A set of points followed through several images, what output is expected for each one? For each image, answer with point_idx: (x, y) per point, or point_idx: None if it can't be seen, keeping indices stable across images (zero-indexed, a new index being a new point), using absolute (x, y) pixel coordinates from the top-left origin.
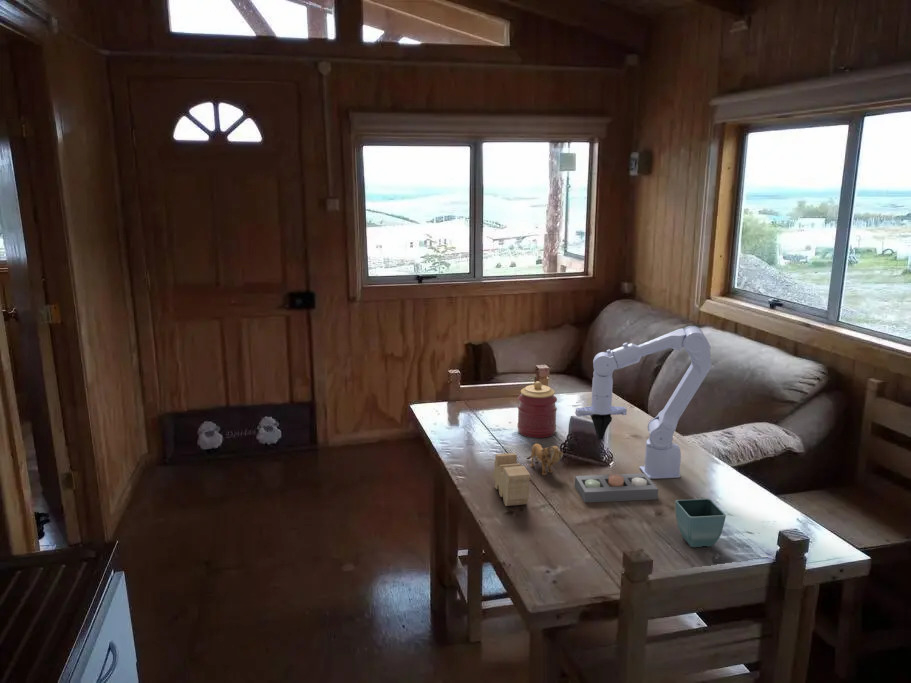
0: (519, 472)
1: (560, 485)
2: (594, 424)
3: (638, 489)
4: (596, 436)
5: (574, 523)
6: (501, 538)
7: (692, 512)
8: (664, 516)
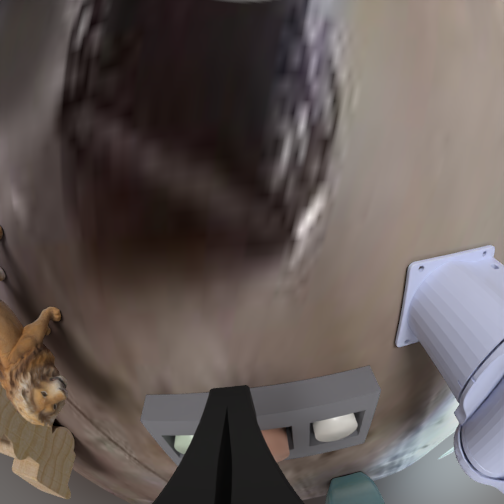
0: (47, 490)
1: (107, 388)
2: (178, 485)
3: (314, 454)
4: (209, 395)
5: (167, 474)
6: (83, 472)
7: (355, 499)
8: (335, 456)
